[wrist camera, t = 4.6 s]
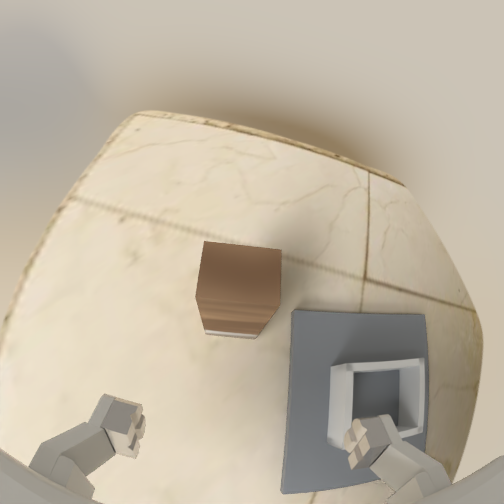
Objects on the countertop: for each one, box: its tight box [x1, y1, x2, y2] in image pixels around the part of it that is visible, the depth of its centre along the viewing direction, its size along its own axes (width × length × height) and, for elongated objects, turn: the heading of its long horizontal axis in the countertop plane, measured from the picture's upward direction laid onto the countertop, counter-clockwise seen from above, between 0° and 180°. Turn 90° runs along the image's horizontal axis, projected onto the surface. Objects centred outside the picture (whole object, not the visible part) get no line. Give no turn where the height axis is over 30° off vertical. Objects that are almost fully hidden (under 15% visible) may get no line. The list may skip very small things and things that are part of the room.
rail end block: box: [195, 241, 281, 339], centre depth 18 cm, size 3×4×10 cm
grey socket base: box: [280, 310, 429, 494], centre depth 18 cm, size 16×14×4 cm
